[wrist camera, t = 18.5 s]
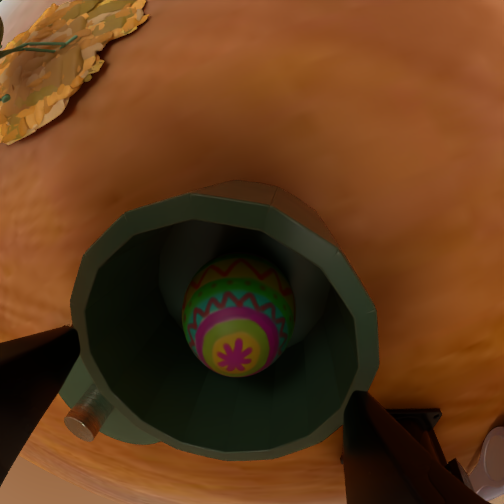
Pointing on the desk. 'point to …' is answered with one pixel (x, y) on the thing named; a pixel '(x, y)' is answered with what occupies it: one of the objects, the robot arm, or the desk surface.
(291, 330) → the egg
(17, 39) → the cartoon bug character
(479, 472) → the headphones
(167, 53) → the desk surface
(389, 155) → the desk surface
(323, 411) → the bin
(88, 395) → the bin lid
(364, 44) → the desk surface
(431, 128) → the desk surface
